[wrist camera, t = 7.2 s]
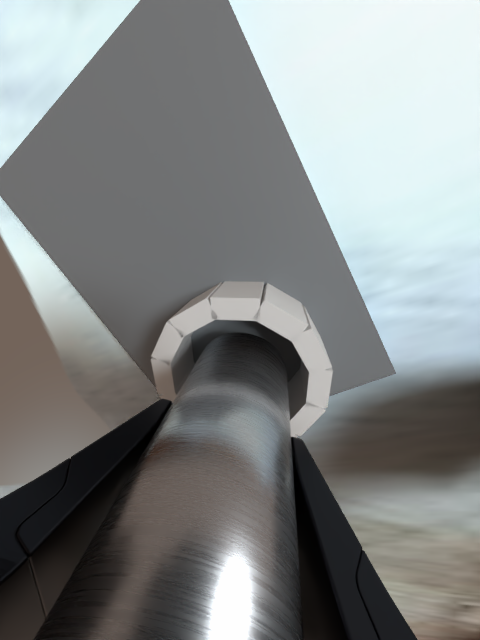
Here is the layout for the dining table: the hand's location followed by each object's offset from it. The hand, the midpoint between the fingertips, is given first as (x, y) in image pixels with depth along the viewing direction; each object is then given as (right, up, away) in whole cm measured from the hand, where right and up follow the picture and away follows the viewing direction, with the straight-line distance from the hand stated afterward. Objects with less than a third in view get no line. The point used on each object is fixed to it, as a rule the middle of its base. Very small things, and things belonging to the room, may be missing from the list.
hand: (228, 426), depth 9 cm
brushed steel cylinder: (0, -1, +4) cm, 4 cm away
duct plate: (-2, +7, +5) cm, 8 cm away
